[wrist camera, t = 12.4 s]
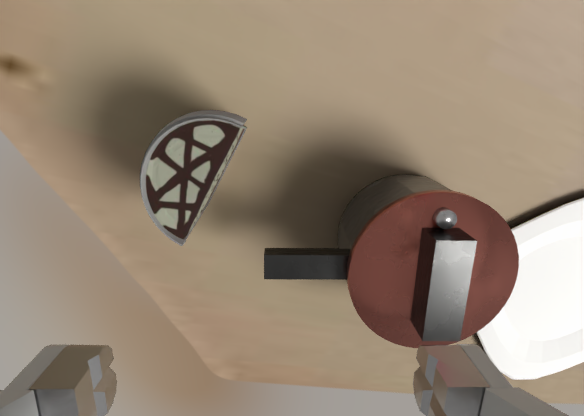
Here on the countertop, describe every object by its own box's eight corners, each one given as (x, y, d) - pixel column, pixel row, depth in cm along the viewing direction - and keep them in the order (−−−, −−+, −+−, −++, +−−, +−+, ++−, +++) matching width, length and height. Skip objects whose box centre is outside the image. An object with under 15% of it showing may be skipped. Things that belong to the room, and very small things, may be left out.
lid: (352, 188, 31) (362, 202, 27) (525, 190, 32) (560, 204, 28) (342, 340, 36) (349, 371, 32) (495, 340, 36) (522, 370, 32)
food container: (198, 84, 37) (170, 80, 28) (253, 114, 38) (244, 120, 29) (150, 189, 40) (110, 218, 31) (202, 215, 41) (179, 251, 32)
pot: (267, 172, 40) (263, 193, 31) (468, 175, 41) (519, 196, 32) (267, 289, 44) (264, 336, 35) (450, 289, 45) (491, 335, 36)
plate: (439, 254, 44) (446, 260, 42) (620, 170, 42) (634, 173, 40) (497, 386, 50) (504, 396, 48) (658, 318, 47) (672, 326, 46)
